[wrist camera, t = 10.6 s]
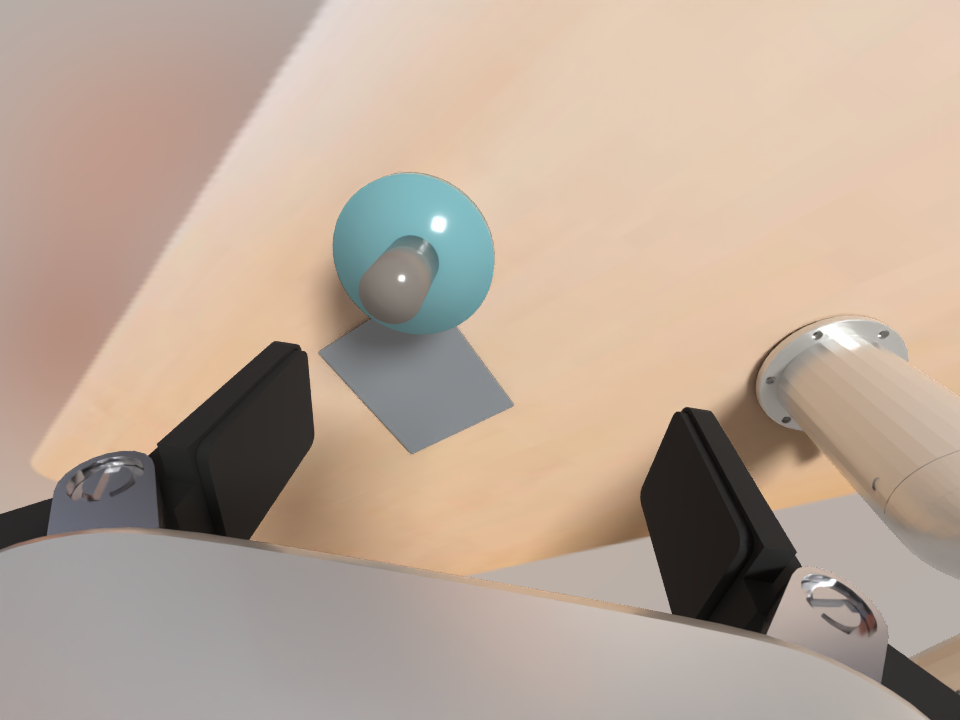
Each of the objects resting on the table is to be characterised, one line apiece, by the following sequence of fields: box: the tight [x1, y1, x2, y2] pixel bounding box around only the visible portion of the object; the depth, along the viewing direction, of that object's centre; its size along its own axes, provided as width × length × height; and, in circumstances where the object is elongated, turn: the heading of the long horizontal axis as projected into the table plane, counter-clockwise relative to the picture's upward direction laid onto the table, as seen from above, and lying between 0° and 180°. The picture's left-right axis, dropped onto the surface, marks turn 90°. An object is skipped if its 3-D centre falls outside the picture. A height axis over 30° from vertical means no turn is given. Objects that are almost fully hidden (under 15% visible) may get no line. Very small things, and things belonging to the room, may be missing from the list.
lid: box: [333, 172, 495, 335], centre depth 27 cm, size 11×11×7 cm
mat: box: [318, 318, 514, 454], centre depth 46 cm, size 16×14×1 cm
